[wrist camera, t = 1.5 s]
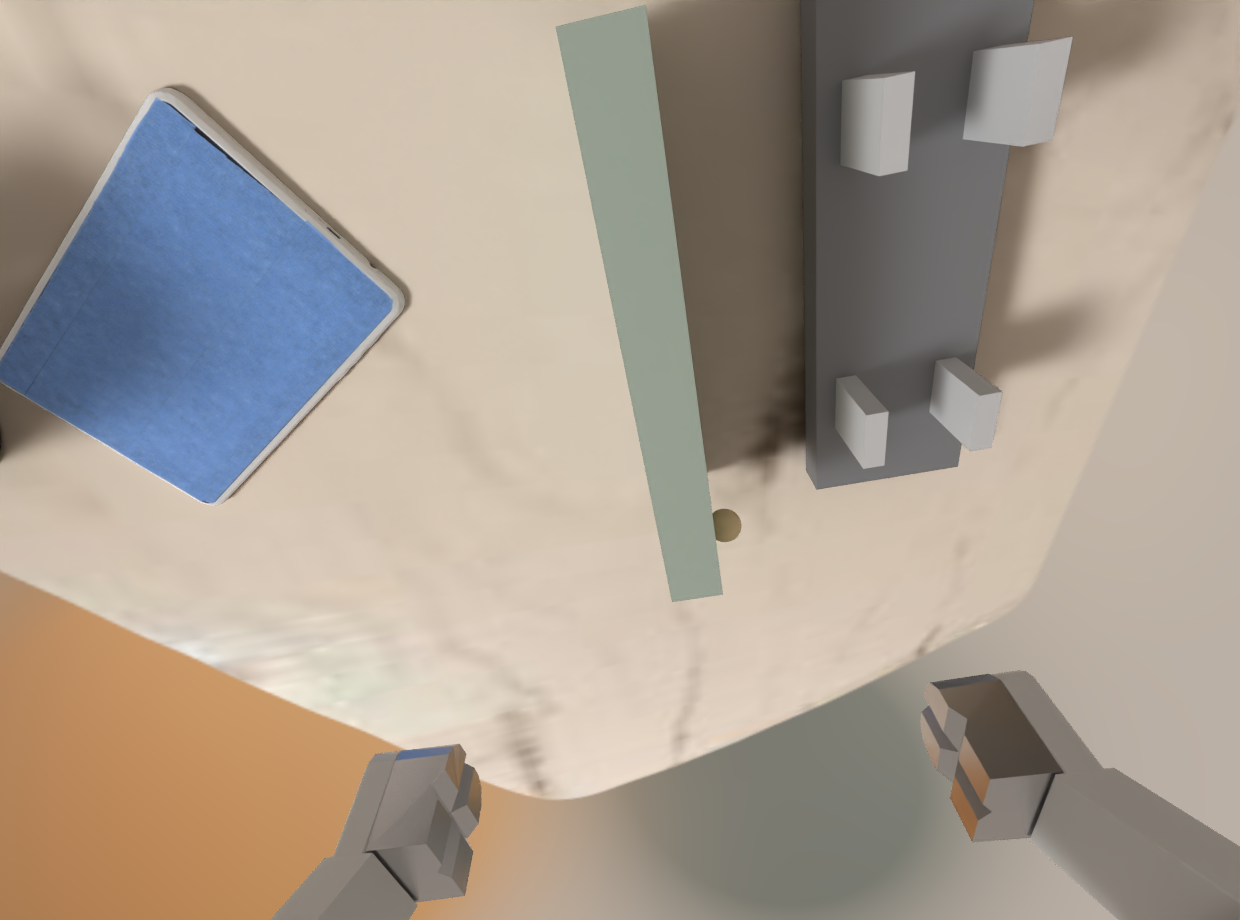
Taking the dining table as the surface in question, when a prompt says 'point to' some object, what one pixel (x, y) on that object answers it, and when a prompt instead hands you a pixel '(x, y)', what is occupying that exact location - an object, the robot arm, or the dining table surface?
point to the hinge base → (908, 219)
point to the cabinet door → (645, 283)
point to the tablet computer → (194, 307)
